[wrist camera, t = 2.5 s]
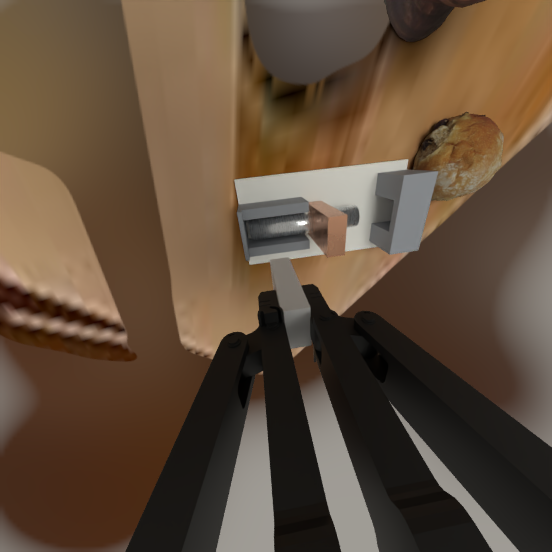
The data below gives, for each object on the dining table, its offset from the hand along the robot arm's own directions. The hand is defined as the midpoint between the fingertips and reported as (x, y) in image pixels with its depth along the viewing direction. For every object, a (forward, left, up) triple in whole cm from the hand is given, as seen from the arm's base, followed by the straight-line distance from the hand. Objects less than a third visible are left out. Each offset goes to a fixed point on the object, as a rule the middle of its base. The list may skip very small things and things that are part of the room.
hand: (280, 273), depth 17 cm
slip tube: (0, +5, -14) cm, 15 cm away
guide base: (0, +8, -16) cm, 18 cm away
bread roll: (-6, +25, -16) cm, 31 cm away
